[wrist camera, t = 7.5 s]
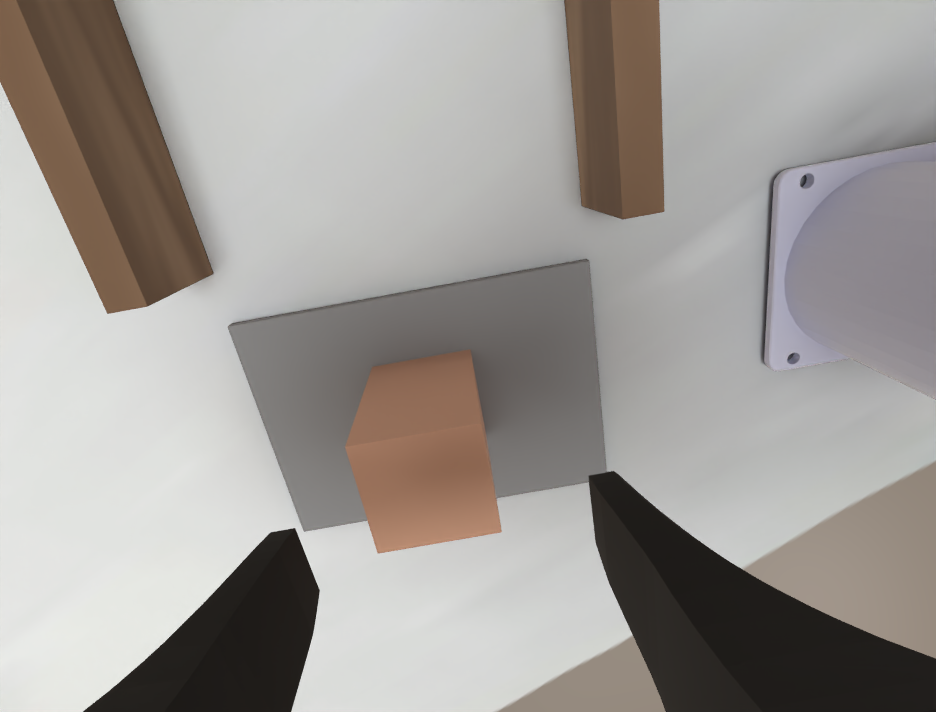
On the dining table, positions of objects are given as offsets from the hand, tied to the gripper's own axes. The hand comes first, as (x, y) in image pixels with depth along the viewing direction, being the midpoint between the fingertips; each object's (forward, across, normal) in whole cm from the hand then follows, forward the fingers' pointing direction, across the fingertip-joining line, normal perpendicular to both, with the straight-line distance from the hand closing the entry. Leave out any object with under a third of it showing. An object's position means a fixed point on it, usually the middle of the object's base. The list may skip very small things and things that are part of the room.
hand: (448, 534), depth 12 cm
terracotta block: (+9, +1, +1) cm, 9 cm away
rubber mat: (+9, +1, +1) cm, 9 cm away
